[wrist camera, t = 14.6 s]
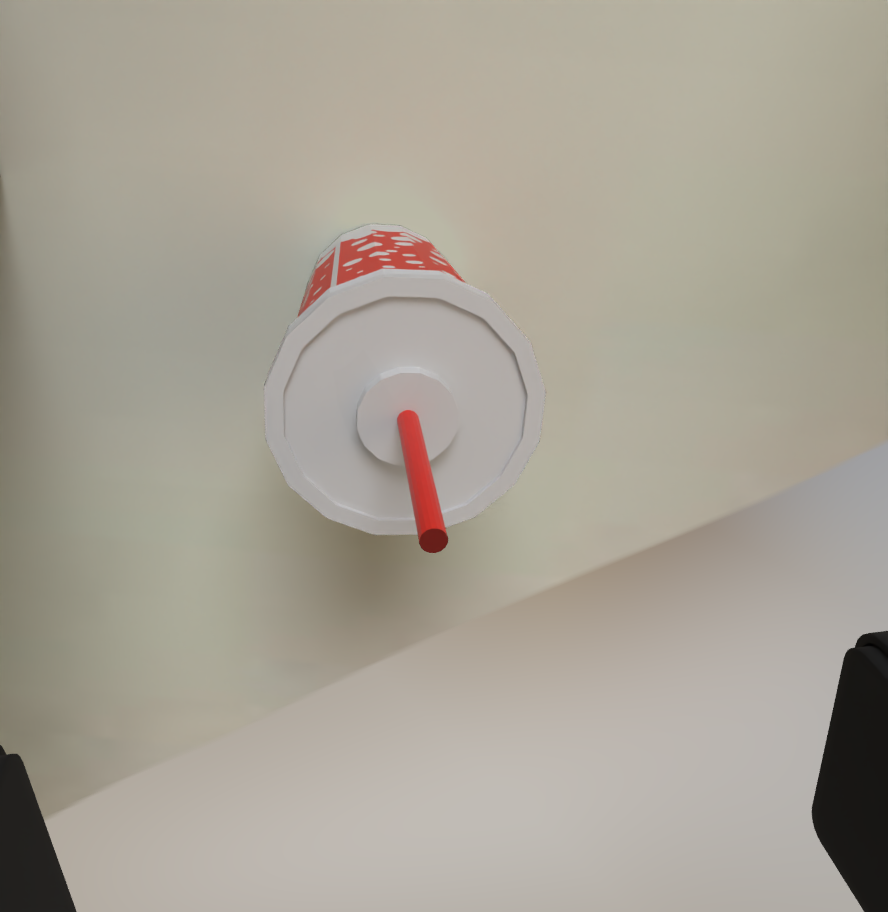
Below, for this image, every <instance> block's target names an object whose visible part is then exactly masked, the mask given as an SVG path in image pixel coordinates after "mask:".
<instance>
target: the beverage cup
mask: <svg viewBox="0 0 888 912" xmlns="http://www.w3.org/2000/svg"><path fill="white" fill-rule="evenodd" d="M545 396H546V391H545V387H544V384H543V381H542V377H541V374H540V371H539V367H538V364H537V361H536V357H535V354H534V351H533V348H532V344H531V342H530V341H529V339H528V338H527V337H526V336H525V335H524V333H523V332H522V331H521V330H520V329H519V328H518V327H517V326H516V324H515V323H514V322H513V321H512V320H511V319H510V318H509V316H508V315H507V314H506V313H505V312H504V311H503V310H502V308H501V307H500V306H499V305H498V304H497V303H496V302H495V301H494V299H493V298H492V297H491V296H490V295H489V294H488V293H486V292H484V291H482V290H480V289H477V288H475V287H473V286H471V285H469V284H467V283H465V281H464V280H463V279H462V278H461V277H460V276H459V274H458V273H457V272H456V271H455V270H454V269H453V267H452V266H451V265H450V264H449V263H448V262H447V260H446V259H445V258H444V257H443V256H442V255H441V254H440V253H439V251H438V250H437V249H436V248H435V247H434V246H433V245H432V244H431V242H430V241H429V240H428V239H427V238H425V237H423V236H421V235H419V234H417V233H415V232H413V231H410V230H408V229H406V228H404V227H402V226H400V225H379V224H369V225H366V226H363V227H361V228H358V229H355V230H352V231H350V232H347V233H344V234H342V235H340V236H339V237H338V238H337V239H336V240H335V241H334V242H333V243H332V244H331V245H330V246H329V247H328V248H327V249H326V250H325V251H324V252H323V253H321V254H320V256H319V258H318V260H317V263H316V265H315V267H314V270H313V272H312V274H311V277H310V279H309V281H308V284H307V288H306V291H305V294H304V297H303V301H302V304H301V307H300V310H299V314H298V317H297V318H296V319H295V320H294V321H293V322H292V323H291V324H290V325H289V326H288V328H287V331H286V333H285V335H284V338H283V340H282V342H281V345H280V347H279V349H278V352H277V354H276V356H275V359H274V361H273V363H272V366H271V368H270V370H269V373H268V377H267V379H266V381H265V385H264V402H265V437H266V442H267V444H268V446H269V448H270V450H271V452H272V454H273V456H274V458H275V460H276V462H277V464H278V466H279V468H280V470H281V472H282V474H283V476H284V478H285V480H286V482H287V484H288V486H289V487H291V488H292V489H293V490H294V491H295V492H296V493H298V494H299V495H300V496H301V497H302V498H303V499H305V500H306V501H307V502H308V503H309V504H311V505H312V506H313V507H314V508H315V509H316V510H318V511H319V512H320V513H321V514H322V515H323V516H325V517H326V518H327V519H330V520H333V521H336V522H339V523H342V524H345V525H347V526H350V527H353V528H356V529H359V530H362V531H365V532H368V533H370V534H373V535H418V539H419V544H420V546H421V548H422V549H423V550H424V551H426V552H429V553H436V552H439V551H441V550H443V549H444V548H445V547H446V545H447V543H448V536H447V532H446V527H449V526H452V525H455V524H458V523H460V522H463V521H466V520H469V519H472V518H475V517H476V516H477V515H478V514H480V513H481V512H482V511H483V510H485V509H486V508H487V507H488V506H490V505H491V504H492V503H493V502H494V501H496V500H497V499H498V498H499V497H501V496H502V495H503V494H504V493H505V492H507V491H508V490H509V489H510V488H512V487H513V486H514V485H515V483H516V482H517V480H518V478H519V476H520V475H521V473H522V471H523V470H524V468H525V466H526V464H527V463H528V461H529V459H530V457H531V456H532V454H533V452H534V451H535V449H536V447H537V445H538V444H539V442H540V435H541V427H542V419H543V411H544V404H545Z"/></svg>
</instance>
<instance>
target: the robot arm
mask: <svg viewBox="0 0 888 912" xmlns="http://www.w3.org/2000/svg"><path fill="white" fill-rule="evenodd" d="M812 819H813V824H814V828H815V831H816V833H817V836H818V838H819V840H820V842H821V844H822V845H823V847H824V848H825V850H826V851H827V853H828V855H829V856H830V858H831V859H832V861H833V863H834V864H835V866H836V867H837V869H838V871H839V872H840V874H841V875H842V877H843V879H844V880H845V882H846V883H847V885H848V886H849V888H850V890H851V891H852V893H853V894H854V896H855V898H856V899H857V901H858V902H859V904H860V906H861V907H862V909H863V910H864V912H888V631H884V632H875V633H868V634H864V635H862V636H861V637H860V638H859V639H858V640H857V643H856V645H855V648H851V649H849V650H848V651H847V652H846V654H845V657H844V661H843V665H842V670H841V675H840V679H839V684H838V689H837V694H836V698H835V703H834V708H833V712H832V717H831V721H830V726H829V731H828V735H827V740H826V745H825V749H824V754H823V759H822V763H821V768H820V773H819V777H818V782H817V787H816V791H815V796H814V801H813V805H812ZM0 912H76V909H75V906H74V903H73V901H72V898H71V895H70V892H69V889H68V887H67V884H66V881H65V878H64V875H63V873H62V870H61V867H60V864H59V862H58V859H57V856H56V853H55V850H54V847H53V845H52V842H51V839H50V836H49V833H48V831H47V828H46V825H45V822H44V819H43V817H42V814H41V811H40V808H39V805H38V803H37V800H36V797H35V794H34V792H33V789H32V786H31V783H30V780H29V778H28V775H27V772H26V769H25V766H24V764H23V761H22V759H21V757H20V756H19V755H18V754H8V755H6V753H5V751H4V749H3V747H2V746H1V745H0Z"/></svg>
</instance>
